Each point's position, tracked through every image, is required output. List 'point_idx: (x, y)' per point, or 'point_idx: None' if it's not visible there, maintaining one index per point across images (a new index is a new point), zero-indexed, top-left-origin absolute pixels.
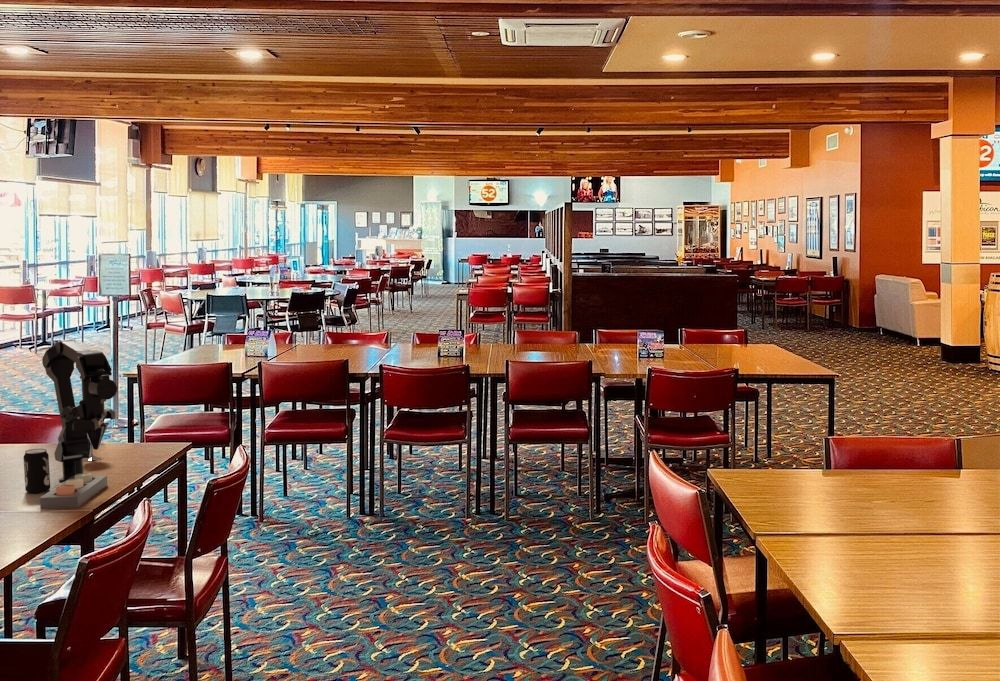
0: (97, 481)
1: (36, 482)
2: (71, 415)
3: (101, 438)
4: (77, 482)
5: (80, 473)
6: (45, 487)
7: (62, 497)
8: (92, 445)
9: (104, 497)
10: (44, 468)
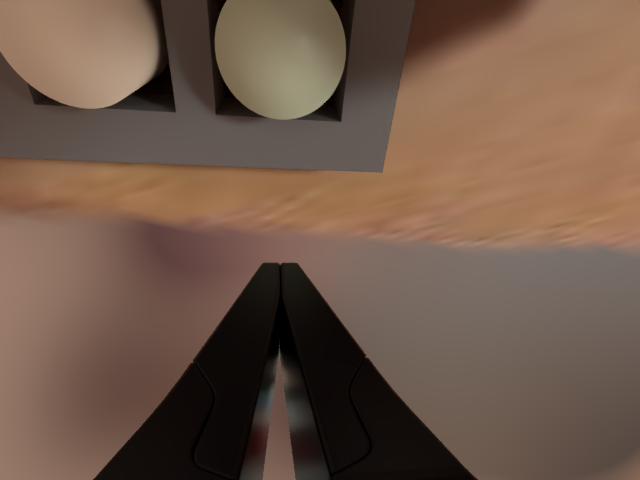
0: (235, 158)
1: None
2: None
3: (291, 437)
4: (26, 80)
5: (333, 12)
6: None
7: None
8: (243, 291)
9: (126, 200)
10: None
